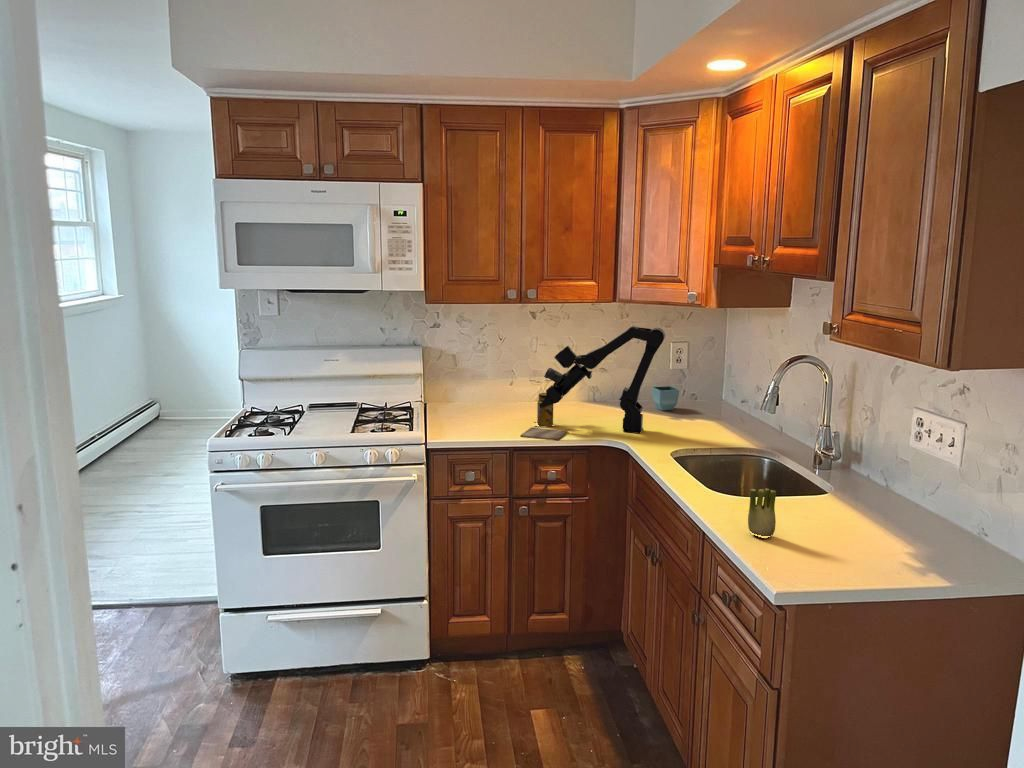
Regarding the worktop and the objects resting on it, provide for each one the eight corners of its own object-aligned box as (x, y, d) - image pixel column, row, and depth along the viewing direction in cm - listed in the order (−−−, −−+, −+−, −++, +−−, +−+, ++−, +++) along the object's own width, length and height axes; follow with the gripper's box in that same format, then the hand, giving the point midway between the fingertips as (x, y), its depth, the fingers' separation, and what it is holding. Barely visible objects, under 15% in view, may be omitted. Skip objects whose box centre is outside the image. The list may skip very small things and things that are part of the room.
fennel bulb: (745, 536, 186) (748, 488, 184) (753, 530, 190) (756, 483, 188) (768, 542, 183) (772, 493, 180) (776, 536, 186) (780, 488, 184)
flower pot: (650, 407, 326) (651, 386, 324) (669, 406, 328) (670, 385, 326) (659, 412, 318) (660, 390, 316) (679, 411, 320) (680, 389, 318)
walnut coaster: (567, 432, 284) (567, 430, 284) (558, 440, 273) (558, 438, 273) (531, 429, 289) (531, 427, 288) (520, 436, 277) (520, 435, 277)
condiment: (555, 426, 292) (556, 395, 290) (533, 427, 291) (533, 396, 289) (551, 422, 299) (552, 391, 297) (530, 423, 298) (530, 392, 296)
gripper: (562, 357, 298) (534, 384, 303) (552, 365, 280) (522, 393, 285) (582, 379, 298) (553, 405, 303) (573, 388, 280) (543, 415, 285)
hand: (542, 404), depth 294 cm, fingers open, 9 cm apart
